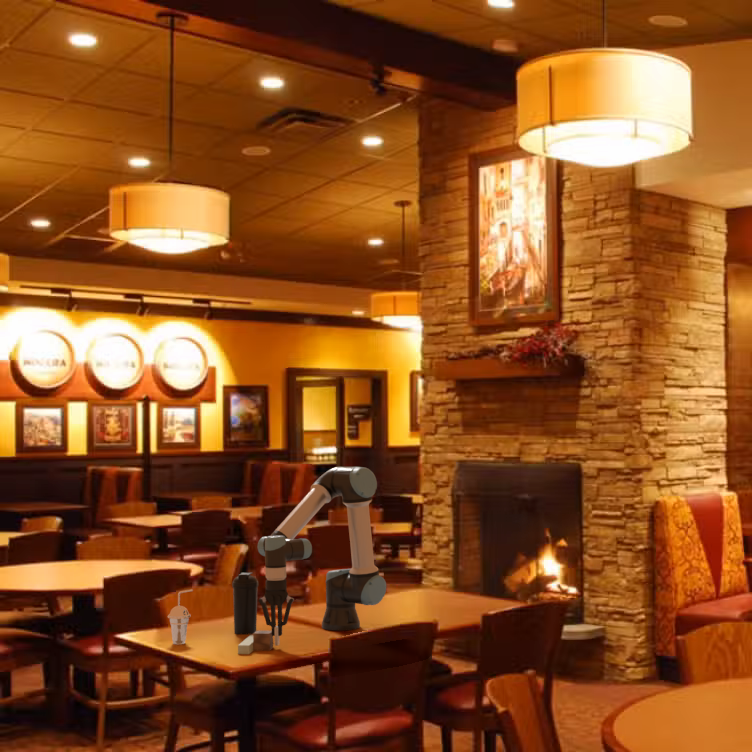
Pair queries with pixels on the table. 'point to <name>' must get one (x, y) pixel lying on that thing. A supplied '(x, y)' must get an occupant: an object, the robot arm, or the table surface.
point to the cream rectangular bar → (246, 646)
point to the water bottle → (245, 603)
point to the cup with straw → (179, 621)
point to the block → (262, 640)
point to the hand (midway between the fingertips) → (277, 644)
